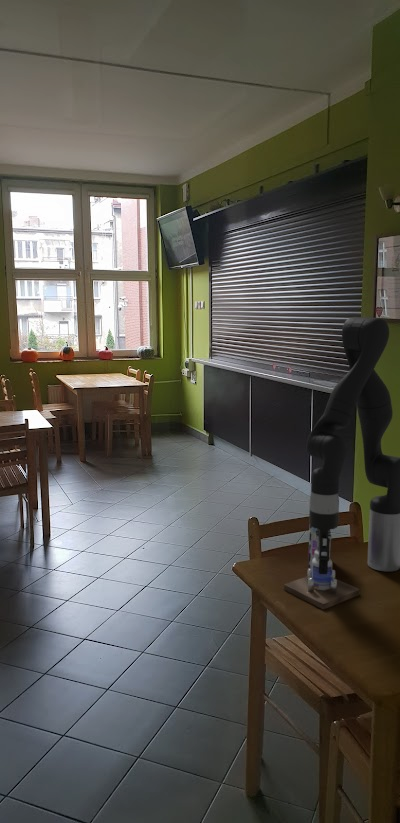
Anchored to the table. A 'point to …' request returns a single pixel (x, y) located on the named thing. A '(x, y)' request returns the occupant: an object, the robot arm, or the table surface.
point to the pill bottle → (321, 579)
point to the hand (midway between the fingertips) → (322, 567)
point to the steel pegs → (311, 582)
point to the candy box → (312, 544)
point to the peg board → (321, 593)
